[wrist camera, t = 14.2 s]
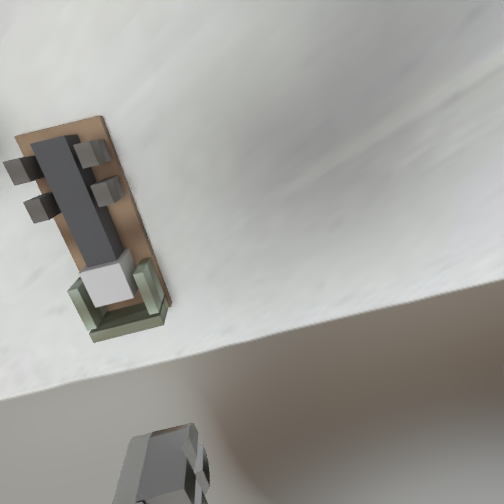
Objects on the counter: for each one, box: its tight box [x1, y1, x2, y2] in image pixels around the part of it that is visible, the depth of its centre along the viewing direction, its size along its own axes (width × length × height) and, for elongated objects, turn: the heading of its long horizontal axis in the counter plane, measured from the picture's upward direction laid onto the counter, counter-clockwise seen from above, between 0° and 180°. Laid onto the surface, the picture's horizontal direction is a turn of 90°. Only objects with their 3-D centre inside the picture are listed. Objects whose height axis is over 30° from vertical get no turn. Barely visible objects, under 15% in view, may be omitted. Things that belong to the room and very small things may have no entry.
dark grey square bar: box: [30, 134, 138, 308], centre depth 32 cm, size 16×4×4 cm, turn 13°
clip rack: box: [3, 116, 172, 343], centre depth 33 cm, size 21×8×5 cm, turn 13°
